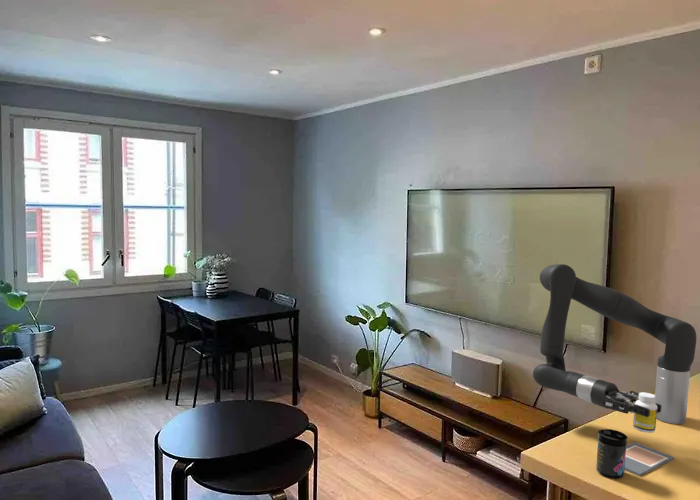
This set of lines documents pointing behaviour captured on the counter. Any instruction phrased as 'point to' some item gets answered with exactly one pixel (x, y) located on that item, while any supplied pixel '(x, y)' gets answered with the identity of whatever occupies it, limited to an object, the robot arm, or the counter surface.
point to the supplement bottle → (641, 421)
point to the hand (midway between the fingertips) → (654, 411)
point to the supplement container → (611, 453)
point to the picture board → (643, 458)
